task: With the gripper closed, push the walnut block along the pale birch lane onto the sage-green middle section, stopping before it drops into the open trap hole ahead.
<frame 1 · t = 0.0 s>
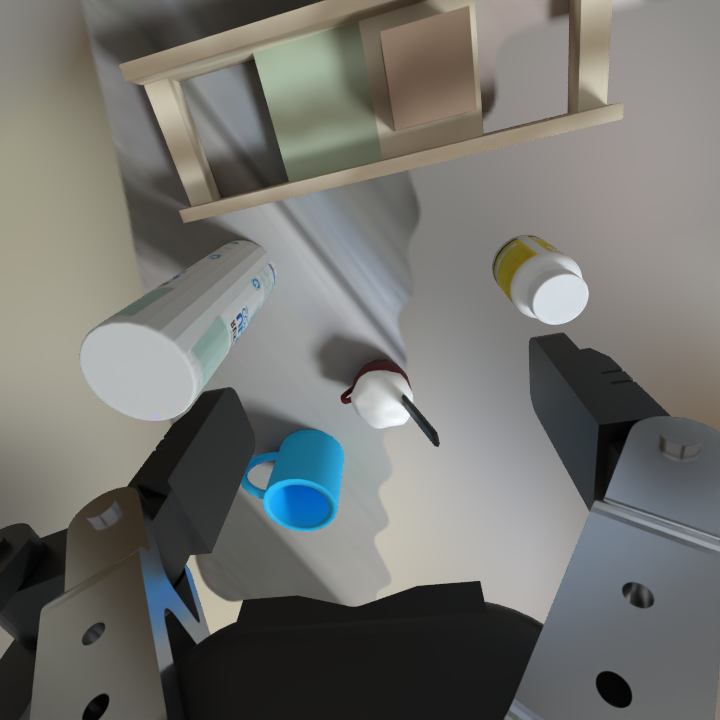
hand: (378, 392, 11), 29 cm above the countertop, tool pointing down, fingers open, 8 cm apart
supplement bottle: (519, 262, 38), on the countertop
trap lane: (372, 97, 32), on the countertop
walnut block: (424, 80, 30), point 2 cm above the countertop, touching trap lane
spray can: (246, 270, 40), on the countertop
mug: (297, 452, 51), on the countertop
cocoa: (384, 376, 45), on the countertop
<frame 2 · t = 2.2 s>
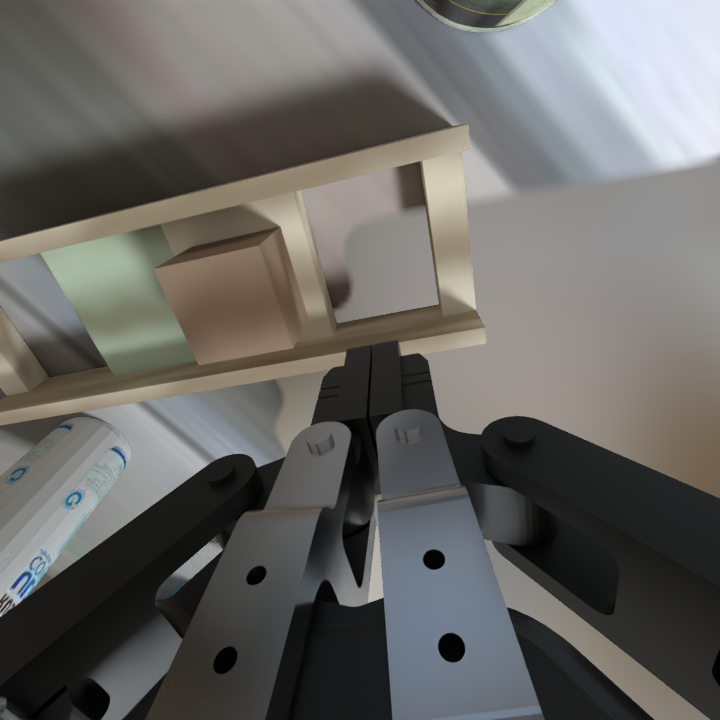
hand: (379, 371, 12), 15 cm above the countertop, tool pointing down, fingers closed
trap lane: (203, 284, 27), on the countertop
walnut block: (251, 282, 24), point 2 cm above the countertop, touching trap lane
spray can: (96, 443, 35), on the countertop
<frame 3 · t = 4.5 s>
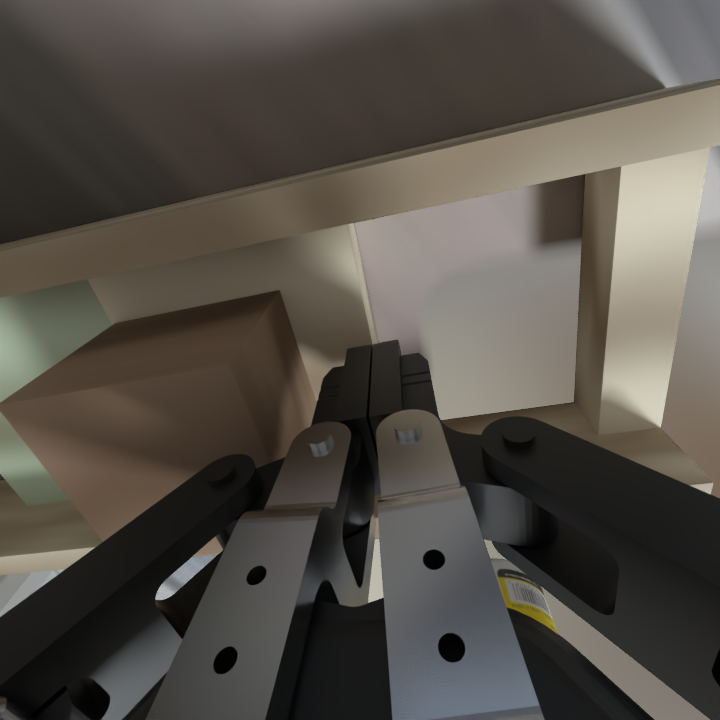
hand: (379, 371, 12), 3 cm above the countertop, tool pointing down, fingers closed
supplement bottle: (486, 582, 22), on the countertop
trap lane: (174, 363, 16), on the countertop
walnut block: (227, 381, 14), point 2 cm above the countertop, touching gripper
spray can: (21, 571, 23), on the countertop
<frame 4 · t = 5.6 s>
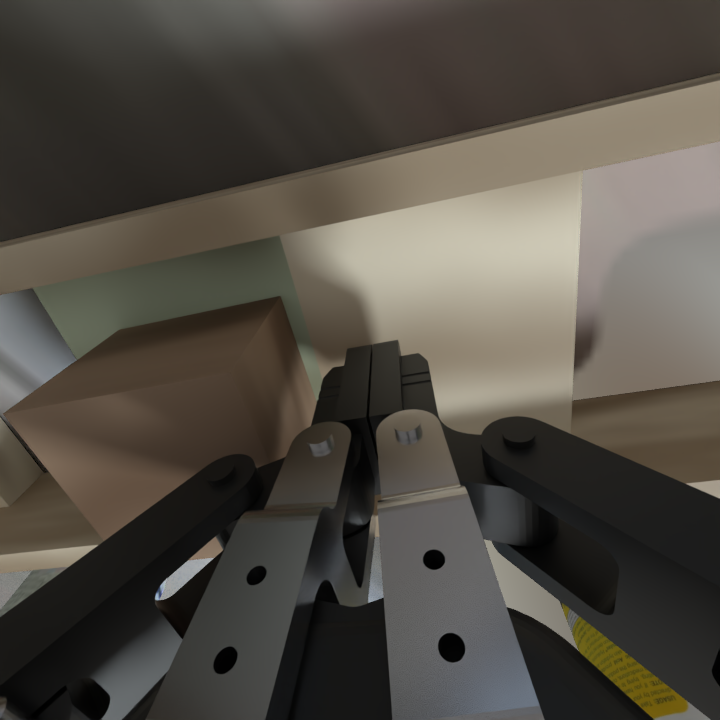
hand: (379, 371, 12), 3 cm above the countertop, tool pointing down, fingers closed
supplement bottle: (606, 572, 21), on the countertop
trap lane: (325, 335, 15), on the countertop
walnut block: (230, 386, 14), point 2 cm above the countertop, touching gripper, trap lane
spray can: (115, 560, 23), on the countertop
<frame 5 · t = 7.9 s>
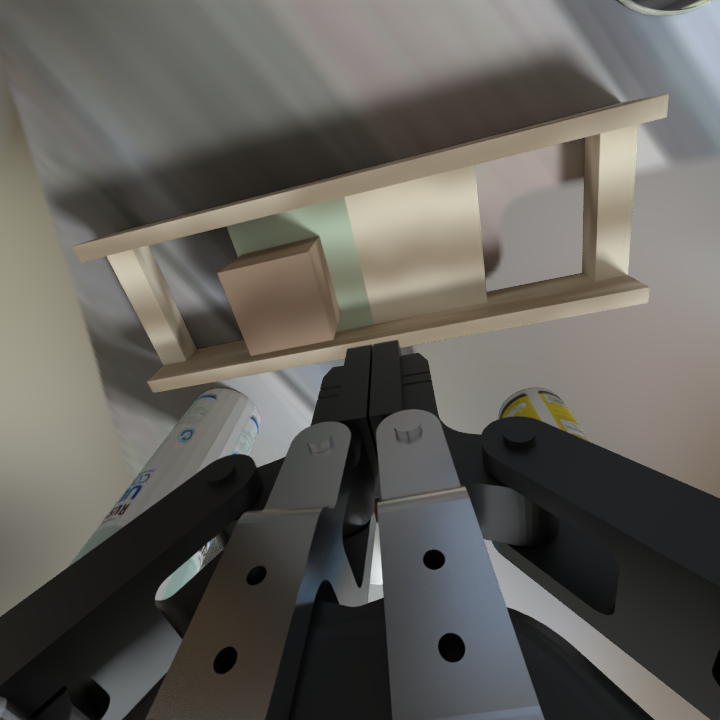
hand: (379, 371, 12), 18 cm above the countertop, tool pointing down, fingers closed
supplement bottle: (529, 411, 34), on the countertop
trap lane: (361, 256, 29), on the countertop
walnut block: (292, 284, 28), point 2 cm above the countertop, touching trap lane
spray can: (228, 415, 36), on the countertop
cocoa: (381, 512, 41), on the countertop
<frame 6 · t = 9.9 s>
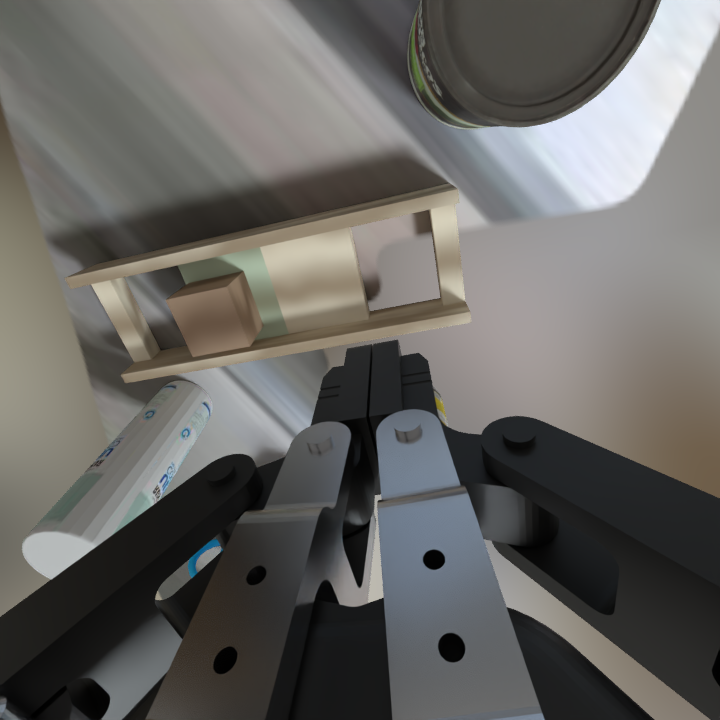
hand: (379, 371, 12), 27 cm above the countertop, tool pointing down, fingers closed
coffee can: (476, 51, 30), on the countertop
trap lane: (279, 283, 39), on the countertop
walnut block: (227, 304, 38), point 2 cm above the countertop, touching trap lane
spray can: (187, 401, 47), on the countertop
mug: (243, 536, 58), on the countertop
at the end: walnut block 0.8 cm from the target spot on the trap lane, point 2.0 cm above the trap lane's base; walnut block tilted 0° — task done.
